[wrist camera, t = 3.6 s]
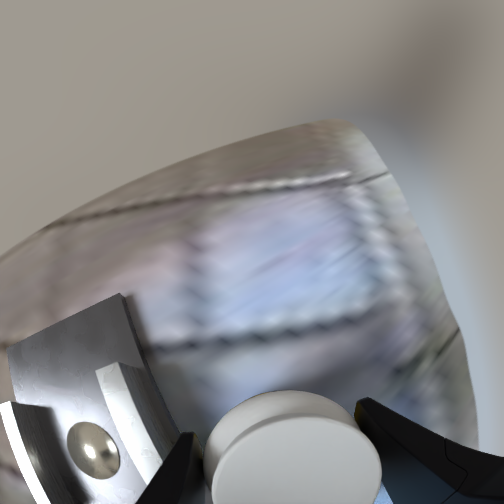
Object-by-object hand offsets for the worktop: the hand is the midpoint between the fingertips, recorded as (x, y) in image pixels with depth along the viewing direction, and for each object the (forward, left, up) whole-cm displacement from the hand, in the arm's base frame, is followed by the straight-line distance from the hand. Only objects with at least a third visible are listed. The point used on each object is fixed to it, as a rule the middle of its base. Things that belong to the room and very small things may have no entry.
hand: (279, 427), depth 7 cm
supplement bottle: (-1, 0, -7) cm, 7 cm away
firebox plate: (-1, +11, -7) cm, 13 cm away
